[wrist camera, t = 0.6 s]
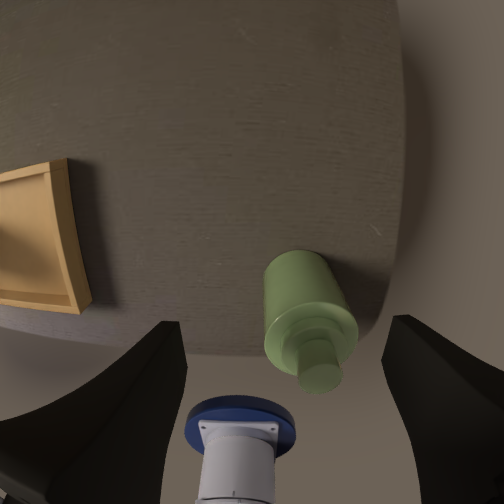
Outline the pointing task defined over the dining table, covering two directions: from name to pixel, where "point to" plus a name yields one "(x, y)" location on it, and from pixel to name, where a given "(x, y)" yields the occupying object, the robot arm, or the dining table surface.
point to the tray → (40, 241)
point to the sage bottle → (307, 320)
